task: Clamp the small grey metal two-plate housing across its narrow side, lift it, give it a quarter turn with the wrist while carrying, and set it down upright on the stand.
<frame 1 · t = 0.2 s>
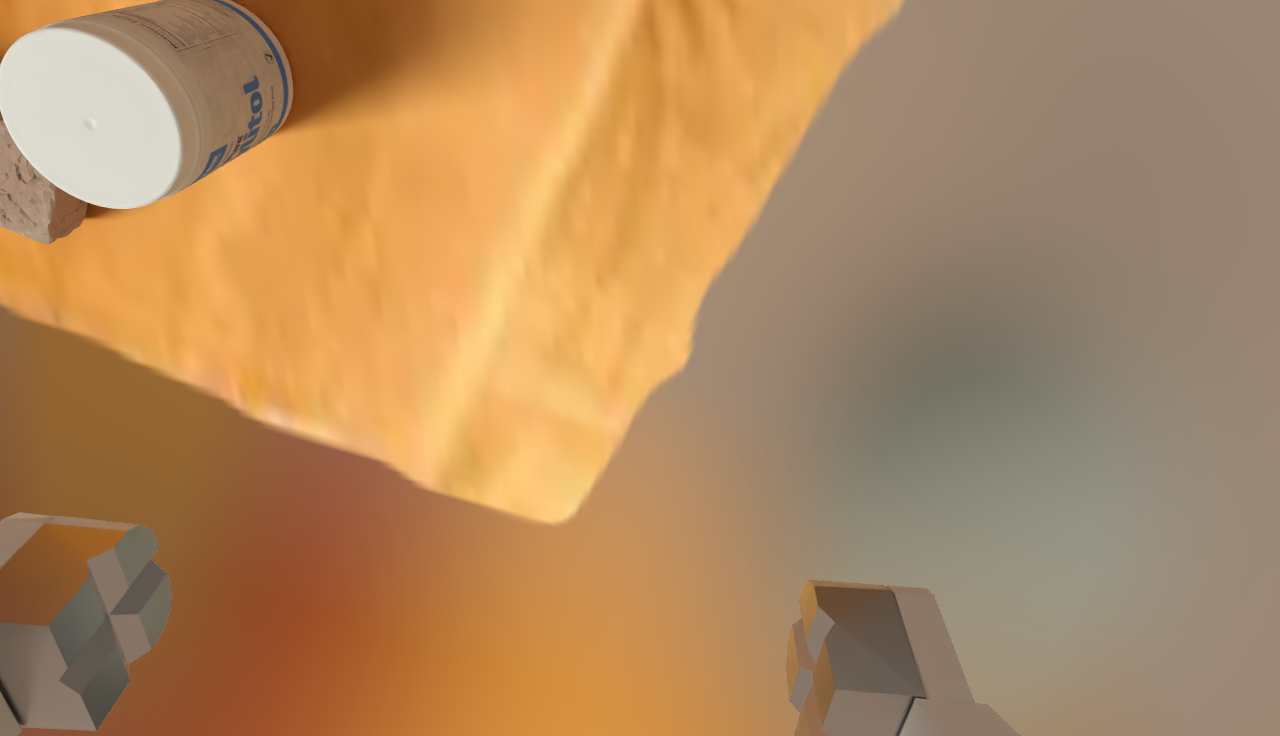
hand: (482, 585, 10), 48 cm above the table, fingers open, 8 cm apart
supplement tub: (228, 68, 53), on the table
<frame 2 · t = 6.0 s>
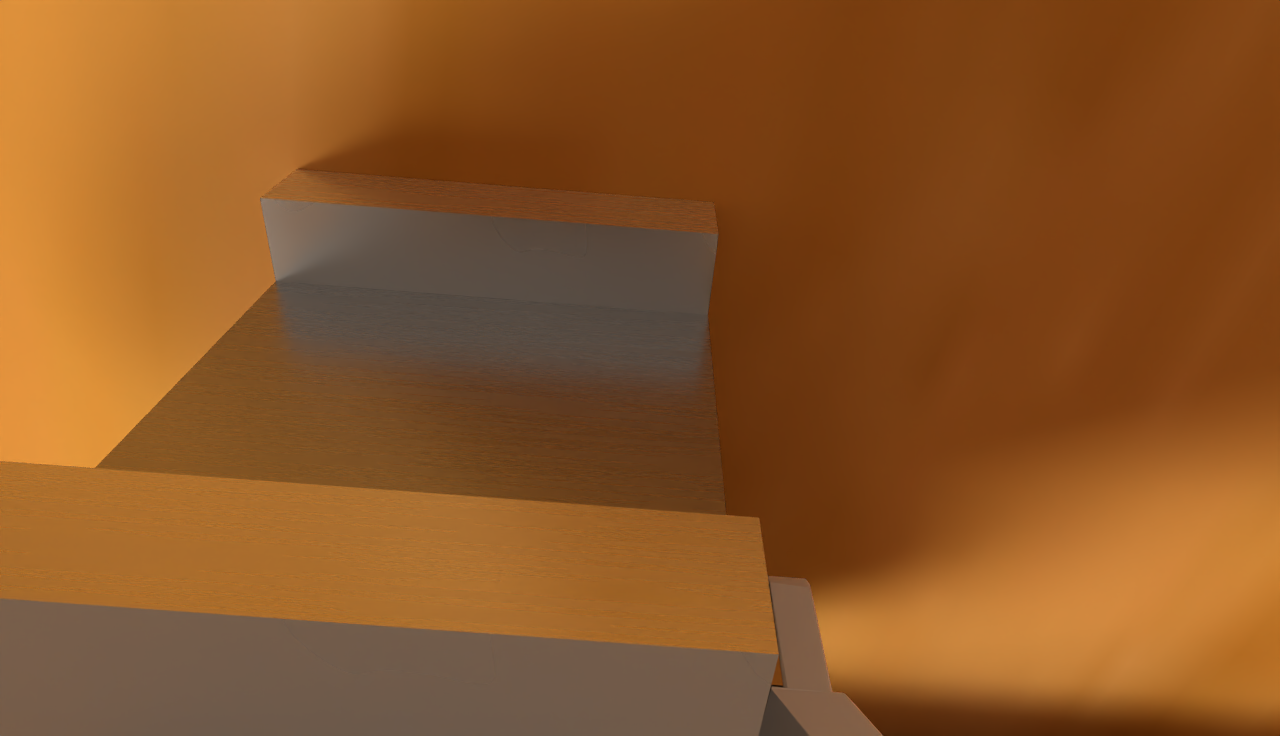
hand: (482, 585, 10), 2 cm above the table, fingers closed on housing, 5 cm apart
housing: (511, 476, 12), on the table, touching gripper
when the fingers open (7 cm above the table, at t = 12.5 s): housing stays where it is, resting on stand.
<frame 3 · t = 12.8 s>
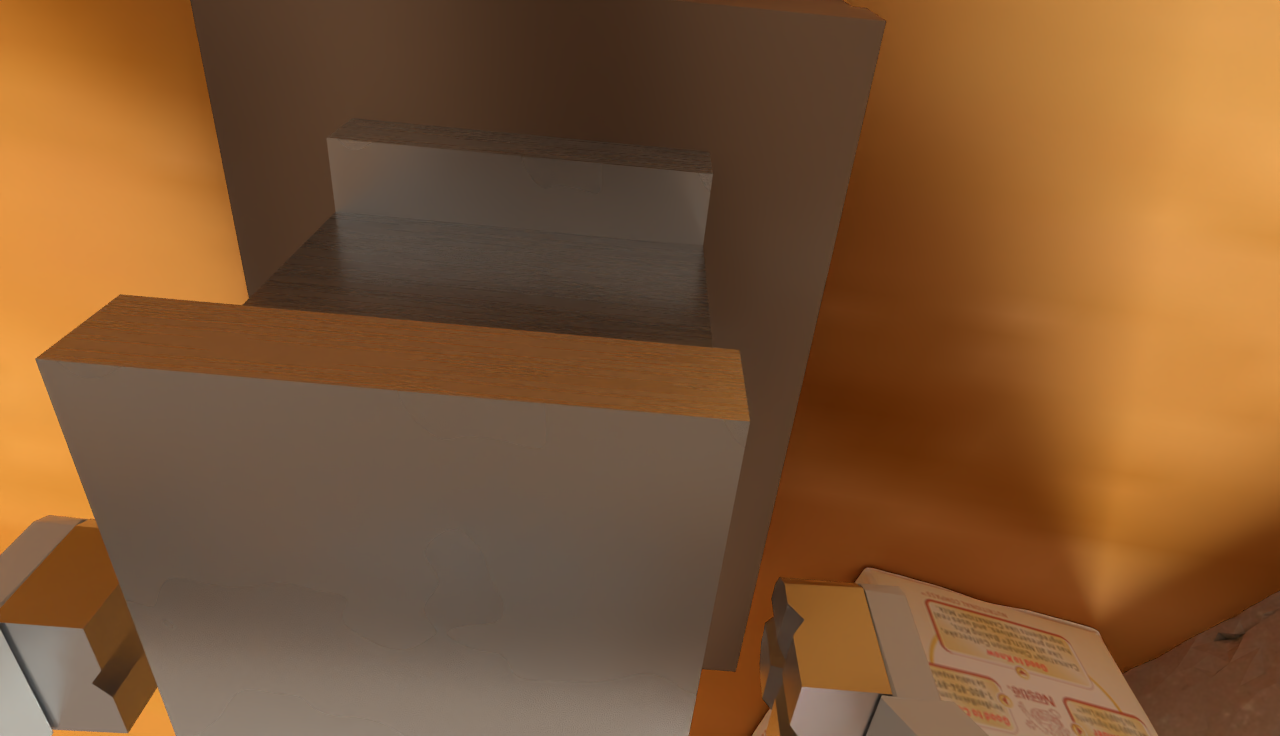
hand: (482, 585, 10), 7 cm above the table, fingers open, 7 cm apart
housing: (528, 399, 13), point 3 cm above the table, touching stand
stand: (552, 321, 16), on the table
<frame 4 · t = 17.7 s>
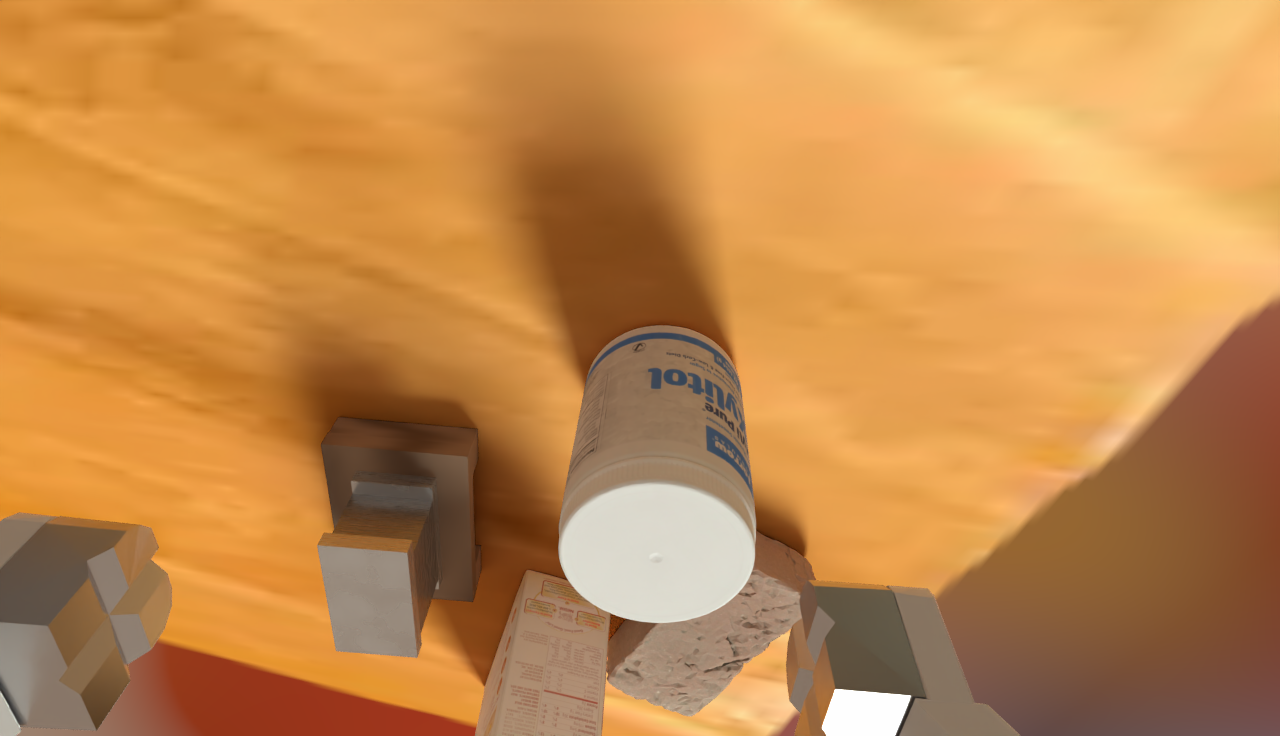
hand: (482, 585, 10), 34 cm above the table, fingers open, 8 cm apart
housing: (401, 527, 52), point 3 cm above the table, touching stand
supplement tub: (661, 383, 49), on the table
brick: (703, 596, 60), on the table
stand: (414, 497, 55), on the table
coffeecake box: (546, 639, 62), on the table
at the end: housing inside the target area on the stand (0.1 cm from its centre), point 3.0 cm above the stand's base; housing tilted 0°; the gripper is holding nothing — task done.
